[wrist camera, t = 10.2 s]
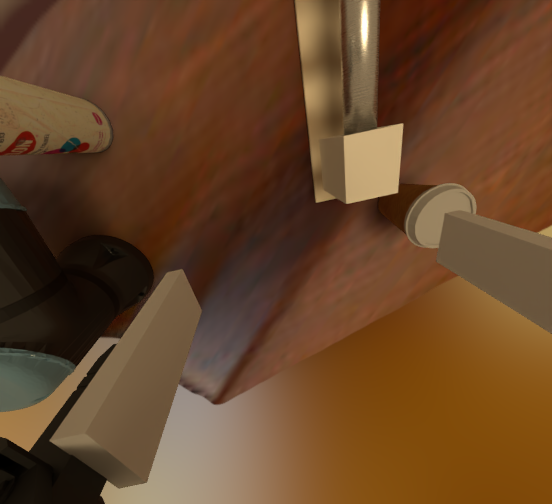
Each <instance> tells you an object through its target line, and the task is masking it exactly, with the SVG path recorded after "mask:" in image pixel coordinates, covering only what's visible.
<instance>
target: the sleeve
mask: <svg viewBox="0 0 552 504" xmlns="http://www.w3.org/2000/svg"><path fill="white" fill-rule="evenodd" d="M402 133H403V124H397V125H391V126H385V127H378V128H377V129H374V130H369V131H365V132H360V133H355V134H351V135H344V134H342V135H337V136H333V137H328V138H323V139H319V145H320V157H321V169H322V181H323V190H324V191H326V192H328V193H329V194H331V195H332V196H334V197H336V198H337V199H339V200H341V201H342V202H344V203H345V204H348V203H353V202H358V201H362V200H367V199H372V198H376V197H381V196H386V195H390V194H395V193H398V185H399V172H400V159H401V146H402Z"/></svg>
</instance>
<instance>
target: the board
mask: <svg viewBox="0 0 552 504" xmlns="http://www.w3.org/2000/svg"><path fill="white" fill-rule="evenodd" d="M294 4H295V13H296V23H297V33H298V42H299V52H300V61H301V71H302V80H303V90H304V99H305V109H306V118H307V128H308V137H309V147H310V156H311V166H312V176H313V185H314V195H315V202H316V203H317V202H322V201H326V200H331V199H336V197H334V196H332V195H331V194H329V193H328V192H326V191H324V190H323V181H322V169H321V157H320V145H319V139H323V138H328V137H333V136H337V135H342V134H344V130H343V102H342V75H341V48H340V21H339V0H294Z"/></svg>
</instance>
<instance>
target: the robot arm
mask: <svg viewBox="0 0 552 504" xmlns="http://www.w3.org/2000/svg"><path fill="white" fill-rule="evenodd" d="M26 211H27V210H26V208H25V207H24V206H22V205H21V204H20V203H19V202H18V201H17V199H16V198H15V197H14V195H13V194H12V192H11V191H10V190H9V188H8V187H7V185H6V184H5V183H4V182H3V180H2V179H1V178H0V412H6V411H14V410H19V409H23V408H27V407H30V406H33V405H35V404H37V403H39V402H41V401H42V400H44V399H46V398H47V397H48V396H49V395H51V394H52V393H53V392H54V391H55V389H56V388H57V387H58V386H59V385H60V384H61V383H62V382H63V380H64V379H65V378H66V377H67V376H68V375H70V374H71V373H72V372H73V371H74V369H75V368H76V366H77V365H78V364H79V363H80V362H81V360H82V359H83V358H84V356H85V355H86V354H87V353H88V351H89V350H90V349H91V348H92V346H93V345H94V344H95V343H96V341H97V340H98V339H99V338H100V336H101V335H102V334H103V333H104V331H105V330H106V329H107V327H108V326H109V325H110V324H111V322H112V321H113V320H114V319H115V317H116V316H117V315H119V314H121V313H122V312H124V311H126V310H127V309H129V308H130V307H132V306H134V305H135V304H137V303H138V302H140V301H141V300H142V299H143V298H144V297H145V296H146V294H147V293H148V292H149V290H150V289H151V287H152V284H153V271H152V268H151V265H150V263H149V262H148V260H147V259H146V257H145V256H144V255H143V254H142V253H141V252H140V251H139V250H138V249H136V248H135V247H134V246H132V245H131V244H129V243H127V242H125V241H123V240H120V239H117V238H114V237H110V236H103V235H95V236H88V237H85V238H82V239H80V240H78V241H76V242H74V243H72V244H70V245H69V246H67V247H66V248H65V249H64V250H63V251H62V252H61V254H60V255H59V256H58V257H57V259H55V257H54V256H53V254H52V253H51V251H50V250H49V248H48V247H47V245H46V244H45V242H44V240H43V239H42V237H41V235H40V234H39V232H38V231H37V229H36V227H35V226H34V224H33V223H32V221H31V219H30V218H29V216H28V215H27V213H26ZM436 262H438V263H440V264H441V265H443V266H444V267H446V268H448V269H449V270H451V271H452V272H454V273H456V274H457V275H459V276H461V277H462V278H464V279H465V280H467V281H468V282H470V283H471V284H473V285H475V286H476V287H478V288H480V289H481V290H483V291H484V292H486V293H487V294H489V295H491V296H492V297H494V298H495V299H497V300H499V301H500V302H502V303H503V304H505V305H507V306H508V307H510V308H511V309H513V310H515V311H516V312H518V313H519V314H521V315H523V316H524V317H526V318H527V319H529V320H531V321H532V322H534V323H536V324H537V325H539V326H540V327H542V328H543V329H545V330H547V331H548V332H550V333H551V334H552V238H551V237H548V236H545V235H541V234H538V233H535V232H532V231H528V230H525V229H522V228H518V227H515V226H512V225H509V224H505V223H502V222H499V221H495V220H492V219H489V218H485V217H482V216H479V215H476V214H472V213H469V212H466V211H462V210H457V211H453V212H448V213H445V215H444V221H443V226H442V232H441V237H440V242H439V248H438V253H437V259H436ZM201 312H202V310H201V308H200V306H199V303H198V301H197V299H196V297H195V295H194V293H193V291H192V288H191V286H190V284H189V282H188V280H187V278H186V276H185V273H184V271H183V269H181V270H176V271H171V272H167V273H166V275H165V276H164V278H163V279H162V281H161V282H160V283H159V285H158V286H157V288H156V289H155V291H154V292H153V293H152V295H151V296H150V298H149V299H148V301H147V302H146V303H145V305H144V306H143V308H142V309H141V311H140V312H139V313H138V315H137V316H136V318H135V319H134V321H133V322H132V323H131V325H130V326H129V328H128V329H127V331H126V332H125V333H124V335H123V336H122V338H121V339H120V340H119V342H118V343H117V344H113V345H112V346H111V347H110V348H109V349H108V350H107V351H106V352H105V353H104V354H102V355H101V356H100V357H99V358H98V360H97V361H96V362H95V363H94V365H93V366H92V367H91V369H90V370H89V371H88V373H87V377H84V379H83V380H82V381H81V382H80V384H79V385H78V387H77V390H76V391H74V392H73V393H72V395H71V396H70V397H69V399H68V400H67V401H66V403H65V404H64V405H63V407H62V408H61V409H60V411H59V412H58V413H57V415H56V416H55V417H54V419H53V420H52V421H51V423H50V424H49V426H48V427H47V428H46V430H45V431H44V432H43V434H42V435H41V436H40V438H39V439H38V440H37V442H36V443H35V444H34V446H33V447H32V448H31V450H30V451H29V452H28V451H26V450H24V449H23V448H21V447H19V446H17V445H16V444H14V443H13V442H11V441H9V440H8V439H6V438H2V437H0V504H105V503H104V501H103V498H102V497H101V496H100V494H101V492H102V490H103V487H104V485H105V483H106V481H109V482H110V483H112V484H113V485H114V486H116V487H117V488H123V487H128V486H133V485H138V484H143V483H146V482H147V480H148V477H149V473H150V471H151V468H152V464H153V461H154V458H155V455H156V452H157V449H158V446H159V443H160V439H161V437H162V433H163V430H164V427H165V424H166V421H167V418H168V415H169V412H170V409H171V406H172V402H173V399H174V396H175V393H176V390H177V387H178V384H179V381H180V378H181V374H182V371H183V368H184V365H185V362H186V359H187V356H188V353H189V350H190V347H191V343H192V340H193V337H194V334H195V331H196V328H197V325H198V322H199V319H200V315H201Z"/></svg>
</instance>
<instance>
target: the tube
mask: <svg viewBox="0 0 552 504" xmlns="http://www.w3.org/2000/svg"><path fill="white" fill-rule="evenodd" d="M339 21H340V48H341V75H342V102H343V130H344V135H351V134H355V133H360V132H365V131H369V130H374V129H377V105H378V67H379V29H380V0H339Z"/></svg>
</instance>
